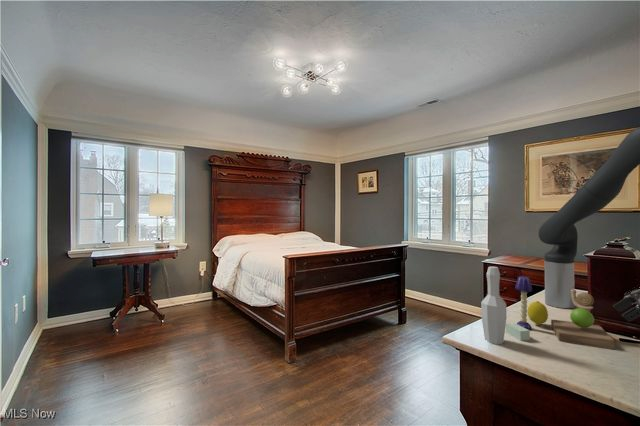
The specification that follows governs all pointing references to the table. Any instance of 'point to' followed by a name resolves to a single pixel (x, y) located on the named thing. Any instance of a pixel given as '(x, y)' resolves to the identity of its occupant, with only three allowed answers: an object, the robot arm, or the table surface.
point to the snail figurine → (582, 309)
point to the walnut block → (582, 334)
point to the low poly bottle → (493, 309)
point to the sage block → (517, 331)
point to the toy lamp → (523, 299)
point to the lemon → (537, 313)
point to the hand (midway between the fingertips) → (620, 313)
